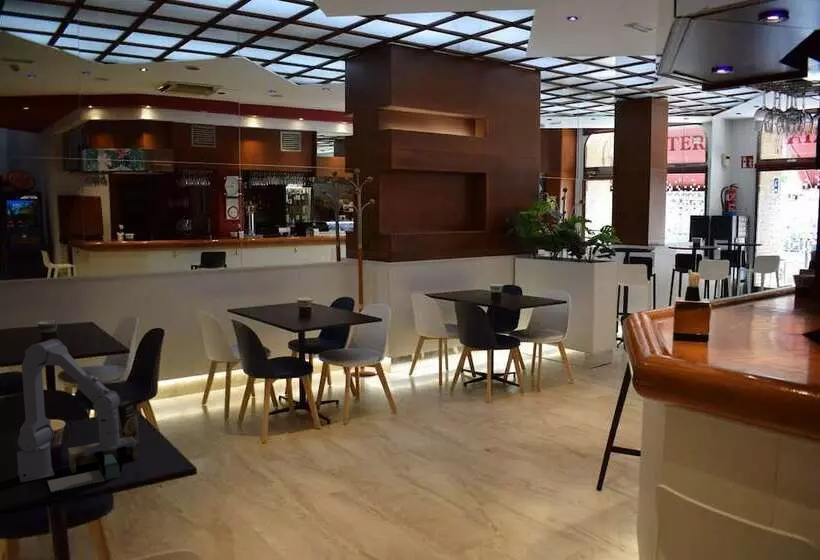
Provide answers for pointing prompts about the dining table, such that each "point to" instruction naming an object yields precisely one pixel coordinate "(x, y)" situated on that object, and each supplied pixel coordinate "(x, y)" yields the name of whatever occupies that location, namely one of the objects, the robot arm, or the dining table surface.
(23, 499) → the dining table surface
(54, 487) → the mat
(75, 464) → the shelf
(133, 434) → the coffee box
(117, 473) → the block
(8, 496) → the dining table surface
